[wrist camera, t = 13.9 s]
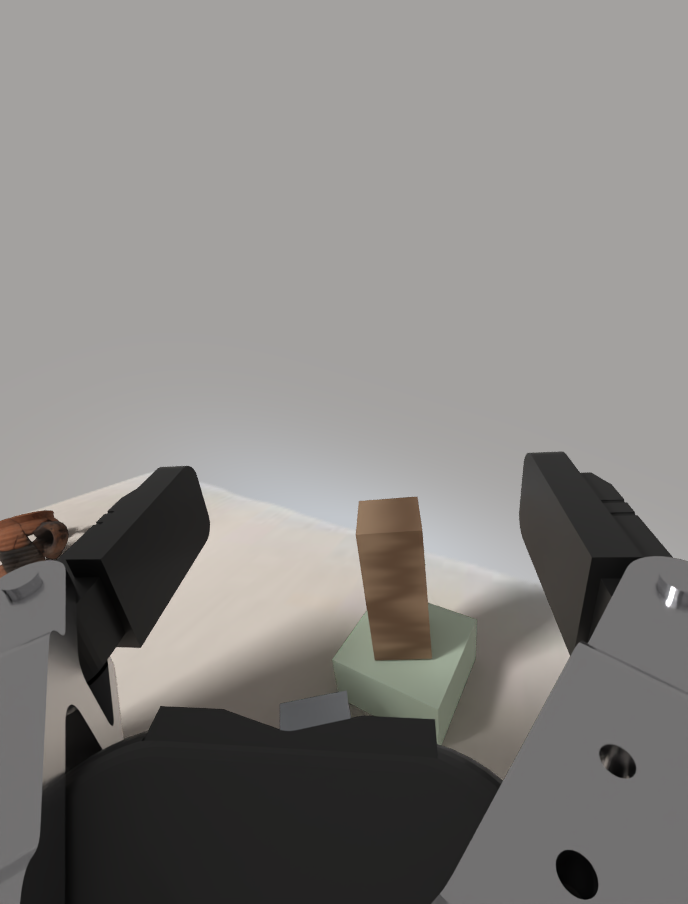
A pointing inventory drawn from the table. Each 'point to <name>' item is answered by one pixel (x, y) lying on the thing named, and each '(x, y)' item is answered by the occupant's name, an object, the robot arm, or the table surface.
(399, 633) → the walnut post
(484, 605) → the table surface
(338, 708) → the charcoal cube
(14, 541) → the brown arched piece
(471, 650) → the sage block
